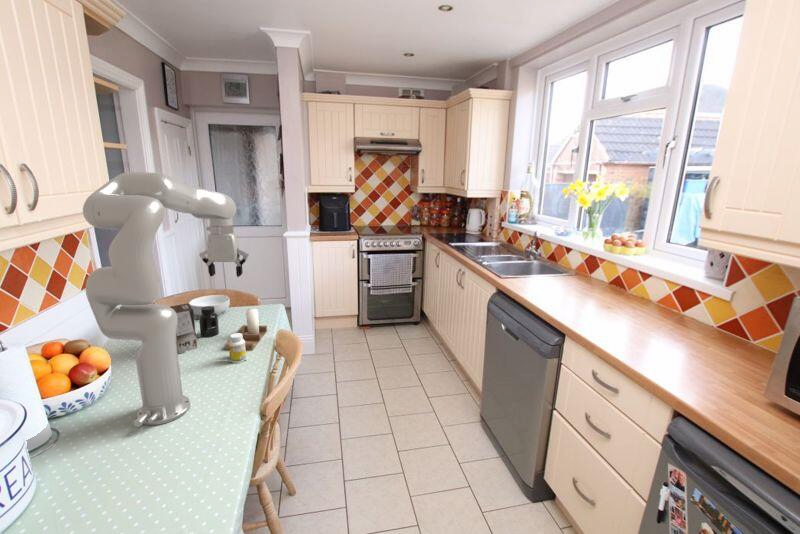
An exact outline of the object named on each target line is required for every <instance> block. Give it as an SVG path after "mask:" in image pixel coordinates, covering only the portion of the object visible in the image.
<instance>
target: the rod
mask: <svg viewBox="0 0 800 534" xmlns="http://www.w3.org/2000/svg"><path fill="white" fill-rule="evenodd" d="M245 312H246V313H245V315H246V325H247V330H248V334H259V326H260V322H259V309H258V308H253V307H252V308H249V309H246V311H245Z"/></svg>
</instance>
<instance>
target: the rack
mask: <svg viewBox="0 0 800 534" xmlns="http://www.w3.org/2000/svg"><path fill="white" fill-rule="evenodd" d="M235 333H241V334H242V336H243V338H242V339H244V340H245V349H246V352H247V351H248V352H249V351H254V350H255V348H256V347H257V346H258V344H259V343H260V341H261V340H262V339H263V337H264V336H265V335H266V333H268V326H267V325H259V334H248V330H247V324H242V326H240V327H239V329H238V330H237V331H236V332H235ZM230 341H231V339H228V340H227V341H226V342H225V343H224V348H225V351H229V342H230Z"/></svg>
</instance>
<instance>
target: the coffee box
mask: <svg viewBox="0 0 800 534" xmlns="http://www.w3.org/2000/svg"><path fill="white" fill-rule="evenodd" d="M169 307H170V308H172V309H173V310H174V311H175V312H176V314H177V318H178V323H177V333H176V344H177V353H178V354H184V353H186V352H189V351H193V350H196V349H198V343H197V335H196V333H197V332H196V325H195V314H194V312H193V309H192V307H191V306H190V305H189V302H188V303H181V304H176V305H172V306H169Z"/></svg>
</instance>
